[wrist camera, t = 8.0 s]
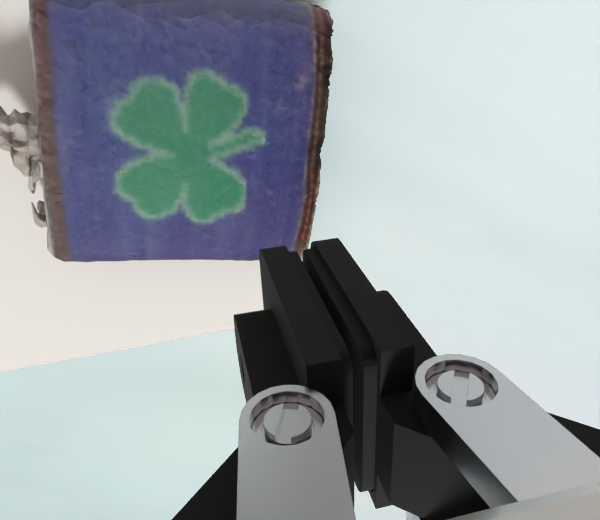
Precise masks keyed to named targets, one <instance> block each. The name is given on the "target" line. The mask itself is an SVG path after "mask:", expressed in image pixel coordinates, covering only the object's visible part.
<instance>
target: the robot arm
mask: <svg viewBox="0 0 600 520" xmlns="http://www.w3.org/2000/svg"><path fill="white" fill-rule="evenodd" d="M259 261H260V273H261V284H262V296H263V307H264V310H260V311H254V312H247V313H241V314H235V315H234V328H235V336H236V345H237V353H238V360H239V366H240V372H241V378H242V384H243V389H244V393H245V398H246V405H245V406H244V408H243V409H242V411H241V415H240V419H239V441H238V448H237V449H236V450H235V451H234V452H233V453H232V454H231V455H230V456H229V458H228V459H227V460H226V461H225V462H224V463H223V464H222V465H221V466H220V467H219V469H218V470H217V471H216V472H215V473H214V474H213V475H212V476H211V477H210V478H209V479H208V481H207V482H206V483H205V484H204V485H203V486H202V487H201V488H200V489H199V490H198V492H197V493H196V494H195V495H194V496H193V497H192V498H191V499H190V500H189V501H188V503H187V504H186V505H185V506H184V507H183V508H182V509H181V510H180V511H179V512H178V513H177V515H176V516H175V517H174V518H173V519H172V520H356V518H355V512H354V481H355V484H356V486H357V488H358V490H359V491H360V492H363V491H369V493H370V496H371V498H372V500H373V503H374V505H375V508H376V509H377V508H381V507H385V506H390V505H394V506H397V507H399V508H401V509H403V510H405V511H406V520H600V430H599V429H596V428H593V427H590V426H587V425H584V424H581V423H578V422H575V421H572V420H569V419H566V418H562V417H559V416H556V415H553V414H550V413H547V412H546V411H545V410H544V409H543V408H541V407H540V406H539V405H538V404H537V403H536V402H535V401H533V400H532V399H531V398H530V397H529V396H528V395H526V394H525V393H524V392H523V391H522V390H521V389H519V388H518V387H517V386H516V385H515V384H514V383H513V382H511V381H510V380H509V379H508V378H507V377H506V376H504V375H503V374H502V373H501V372H500V371H499V370H497V369H496V368H494V367H493V366H492V365H490V364H489V363H487V362H485V361H482V360H480V359H477V358H475V357H470V356H466V355H461V354H445V355H440V356H437V355H436V354H435V353H434V351H433V350H432V349H431V347H430V346H429V345H428V343H427V342H426V341H425V339H424V338H423V337H422V335H421V334H420V333H419V331H418V330H417V329H416V327H415V326H414V325H413V323H412V322H411V321H410V319H409V318H408V317H407V315H406V314H405V313H404V311H403V310H402V309H401V307H400V306H399V305H398V304H397V302H396V301H395V300H394V298H393V297H392V296H391V294H390V293H389V292H388V291H384V290H383V291H376V290H375V289H374V287H373V286H372V285H371V283H370V282H369V280H368V279H367V278H366V276H365V275H364V273H363V272H362V271H361V269H360V268H359V266H358V265H357V264H356V262H355V261H354V259H353V258H352V257H351V255H350V254H349V252H348V251H347V250H346V248H345V247H344V245H343V244H342V243H341V241H340V240H339V239H338V238H335V239H328V240H321V241H314V242H312V243H311V249H305V250H303V262H302V260H301V258H300V256H299V254H298V252H297V251H291V252H289V251H288V249H287V247H286V246H278V247H271V248H264V249H259Z"/></svg>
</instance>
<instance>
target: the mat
mask: <svg viewBox="0 0 600 520" xmlns="http://www.w3.org/2000/svg"><path fill="white" fill-rule="evenodd" d="M28 25H29V0H0V106H1V107H2V108H3V109H4V111H5V112H6V114H7V115H10V114H11V112H12V111H13V110H14V109H16V110H17V111H18V112H20V113H24V112H29V113H31V114H36V113H38V112H37V102H36V95H35V76H34V69H33V62H32V53H31V46H30V41H29V33H28ZM28 183H29V177H25V176H24V175H23V174H22V173H21V172H20V170H18V169H17V168H16V167H14V166H13V161H12V158H11V155H10V152H9V151H6V150H2V149H0V372H4V371H9V370H15V369H20V368H25V367H31V366H36V365H42V364H47V363H53V362H58V361H64V360H69V359H74V358H80V357H85V356H91V355H96V354H102V353H107V352H113V351H118V350H124V349H129V348H134V347H140V346H145V345H151V344H156V343H162V342H167V341H173V340H178V339H184V338H189V337H194V336H200V335H205V334H211V333H216V332H222V331H227V330H233V329H235V328H234V315H235V314H241V313H247V312H254V311H260V310H264V307H263V296H262V284H261V273H260V261H259V260H254V261H244V260H241V261H235V260H130V261H95V262H73V261H71V262H64V261H62V260H59V259H57V258H55V257H54V256H53V255H52V254H51V253H50V252H49V251H48V249H47V227H43V228H41V227H39V226H37V225H36V224H35V222H34V219H33V213H32V206H31V202H32V203H33V204H34V206H35V208H36V210H37V212H38V213H39V211H38V209H37V203H38V201H39V200H40V201H43V202H44V197H43V178H42V177H41V178H40V179H39V180H38V181H37V182H36V189H35V193H34V194H32V193H31V192H30V190H29V188H28Z"/></svg>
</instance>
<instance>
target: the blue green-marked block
mask: <svg viewBox="0 0 600 520" xmlns="http://www.w3.org/2000/svg"><path fill="white" fill-rule="evenodd" d="M318 7H320V6H317V5H315V4H312V3H309V2H294V1H285V0H29V25H28V33H29V41H30V46H31V53H32V62H33V69H34V76H35V95H36V102H37V112H38V113H36V114H31V113H29V112H24V113H20V112H18V111H17V110H16V109H14V110H13V111H12V112H11V114H10V115H7V114H6V112H5V111H4V109H3V108H2V107H1V106H0V149H2V150H6V151H9V152H10V155H11V158H12V161H13V166H14V167H16V168H17V169H18V170H20V172H21V173H22V174H23V175H24V176H25V177H29V183H28V188H29V190H30V192H31V193H32V194H34V193H35V189H36V182H37V181H38V180H39V179H40V178H41V177H42V178H43V197H44V202H43V201H40V200H39V201H38V203H37V209H38V211H39V213H38V212H37V210H36V208H35V206H34V204H33V203H32V202H31V206H32V213H33V219H34V222H35V224H36V225H37V226H39V227H41V228H43V227H47V249H48V251H49V252H50V253H51V254H52V255H53V256H54V257H55V258H57V259H59V260H62V261H64V262H71V261H73V262H95V261H130V260H235V261H241V260H244V261H254V260H259V249H264V248H271V247H278V246H286V247H287V249H288V251H289V252H291V251H297V252H298V254H299V256H300V258H303V250H305V249H308V244H309V240H310V236H311V230H312V224H313V218H314V212H315V207H316V205H315V202H316V199H317V196H318V189H319V184H320V169H321V159H320V155H319V154H320V152H321V147H322V144H323V141H324V138H325V124H326V115H327V108H328V97H329V93H330V92H329V89H328V86H329V85H330V83H329V78H330V75H331V73H332V72H331V70H332V63H333V58H332V50H331V36H332V32H333V30H332V25H333V22H334V21H333V20H332V19H331V17H330V13H329V11H328V10H324V9H323V8H318Z"/></svg>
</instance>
